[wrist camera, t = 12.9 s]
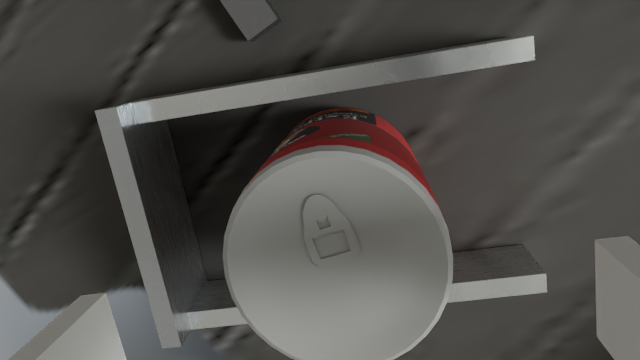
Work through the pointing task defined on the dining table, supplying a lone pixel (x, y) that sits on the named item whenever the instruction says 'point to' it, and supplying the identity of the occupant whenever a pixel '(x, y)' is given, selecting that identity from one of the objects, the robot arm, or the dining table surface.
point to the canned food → (339, 243)
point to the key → (252, 16)
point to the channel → (152, 113)
